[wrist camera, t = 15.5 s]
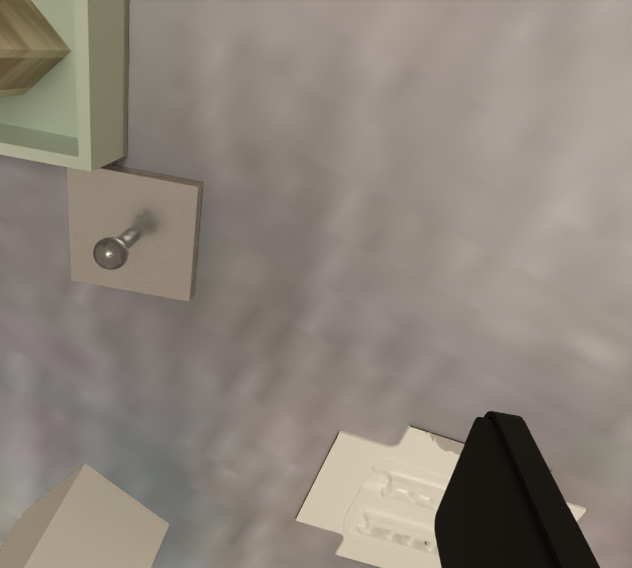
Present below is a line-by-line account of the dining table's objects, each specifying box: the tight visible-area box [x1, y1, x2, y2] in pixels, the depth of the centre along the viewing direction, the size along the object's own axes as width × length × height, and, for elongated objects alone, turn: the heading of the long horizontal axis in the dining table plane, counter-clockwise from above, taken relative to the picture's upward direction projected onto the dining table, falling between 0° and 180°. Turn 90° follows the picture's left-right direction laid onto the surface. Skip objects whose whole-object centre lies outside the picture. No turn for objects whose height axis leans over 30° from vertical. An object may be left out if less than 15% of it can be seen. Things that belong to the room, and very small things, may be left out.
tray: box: [295, 425, 586, 568], centre depth 52 cm, size 20×28×4 cm
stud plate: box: [67, 164, 203, 302], centre depth 37 cm, size 10×10×6 cm
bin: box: [0, 0, 129, 172], centre depth 31 cm, size 14×14×6 cm
